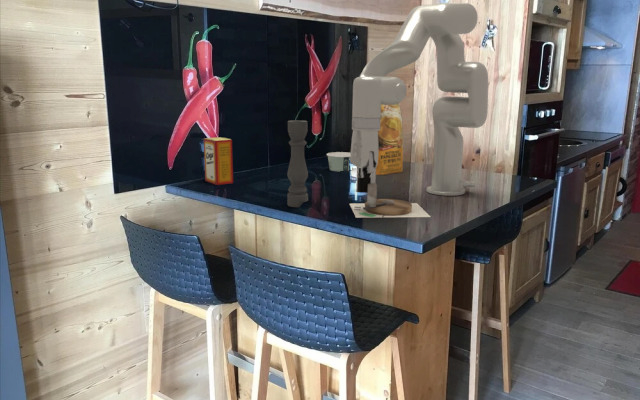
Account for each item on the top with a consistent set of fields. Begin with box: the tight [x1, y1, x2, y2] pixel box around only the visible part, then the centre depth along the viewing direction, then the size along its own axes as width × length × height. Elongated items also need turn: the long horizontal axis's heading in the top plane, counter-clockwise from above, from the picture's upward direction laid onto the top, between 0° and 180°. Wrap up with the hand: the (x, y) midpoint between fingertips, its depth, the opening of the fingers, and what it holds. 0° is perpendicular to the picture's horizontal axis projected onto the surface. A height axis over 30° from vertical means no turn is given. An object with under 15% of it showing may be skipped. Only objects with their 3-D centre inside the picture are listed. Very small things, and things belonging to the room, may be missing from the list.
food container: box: [326, 151, 351, 172], centre depth 224 cm, size 12×12×6 cm
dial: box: [363, 182, 412, 215], centre depth 149 cm, size 16×13×8 cm
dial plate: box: [349, 202, 431, 219], centre depth 151 cm, size 20×16×2 cm
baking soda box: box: [203, 136, 234, 186], centre depth 195 cm, size 10×6×16 cm
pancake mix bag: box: [376, 103, 404, 176], centre depth 215 cm, size 7×19×28 cm, turn 130°
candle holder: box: [286, 119, 309, 208], centre depth 160 cm, size 6×6×25 cm
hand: (363, 191), depth 148 cm, fingers closed
